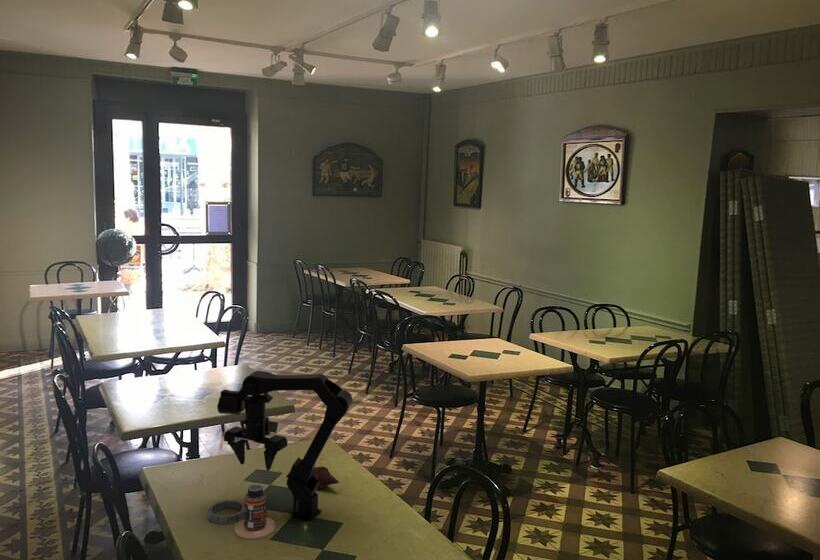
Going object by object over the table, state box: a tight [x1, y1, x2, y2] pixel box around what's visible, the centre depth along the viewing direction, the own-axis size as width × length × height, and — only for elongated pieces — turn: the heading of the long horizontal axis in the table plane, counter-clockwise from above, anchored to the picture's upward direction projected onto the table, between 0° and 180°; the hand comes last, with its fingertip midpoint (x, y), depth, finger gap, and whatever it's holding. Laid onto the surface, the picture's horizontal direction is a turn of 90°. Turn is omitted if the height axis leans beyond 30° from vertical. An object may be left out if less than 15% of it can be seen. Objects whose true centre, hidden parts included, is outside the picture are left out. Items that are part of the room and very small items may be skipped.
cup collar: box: [207, 499, 244, 525], centre depth 189 cm, size 10×10×2 cm
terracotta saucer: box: [233, 517, 276, 540], centre depth 182 cm, size 11×11×1 cm
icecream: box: [313, 466, 340, 490], centre depth 208 cm, size 7×7×15 cm
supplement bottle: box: [243, 484, 268, 531], centre depth 181 cm, size 6×6×11 cm
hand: (255, 467), depth 191 cm, fingers open, 9 cm apart
